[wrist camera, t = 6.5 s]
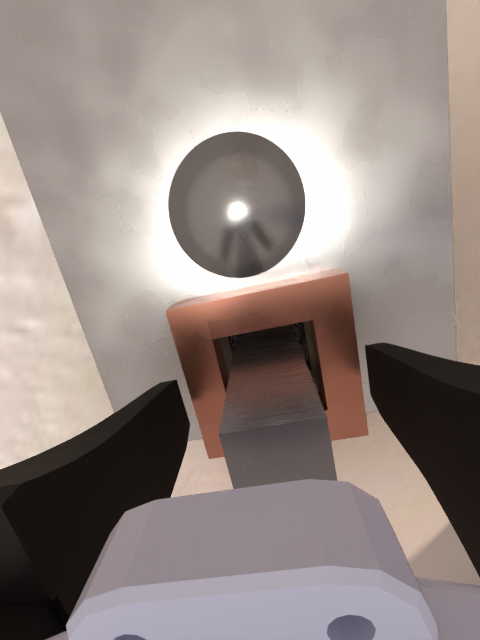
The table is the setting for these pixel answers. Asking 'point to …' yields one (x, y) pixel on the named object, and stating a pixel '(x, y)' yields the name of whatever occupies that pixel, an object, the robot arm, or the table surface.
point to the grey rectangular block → (273, 414)
